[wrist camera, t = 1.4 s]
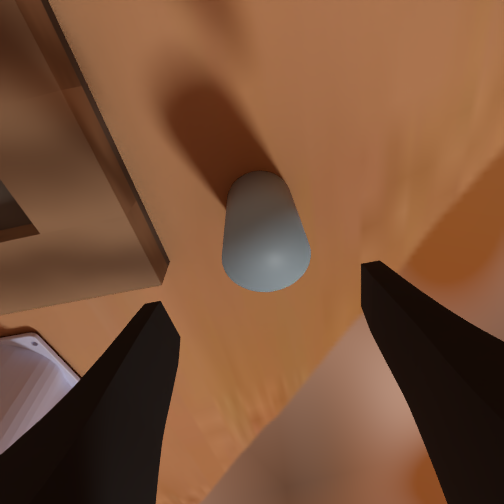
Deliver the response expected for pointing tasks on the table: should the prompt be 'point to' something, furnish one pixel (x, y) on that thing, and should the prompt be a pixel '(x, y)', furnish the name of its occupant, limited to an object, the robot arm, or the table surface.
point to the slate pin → (263, 234)
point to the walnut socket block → (62, 178)
